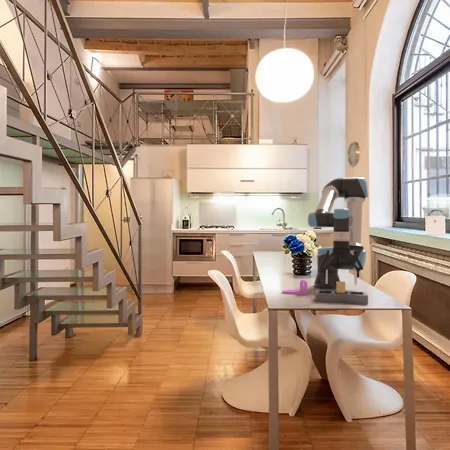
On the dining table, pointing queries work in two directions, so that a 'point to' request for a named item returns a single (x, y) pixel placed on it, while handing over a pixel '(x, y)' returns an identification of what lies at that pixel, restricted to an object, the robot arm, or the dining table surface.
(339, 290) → the brass block
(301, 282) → the bracket
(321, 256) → the robot arm
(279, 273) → the dining table surface
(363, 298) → the dark grey tray
